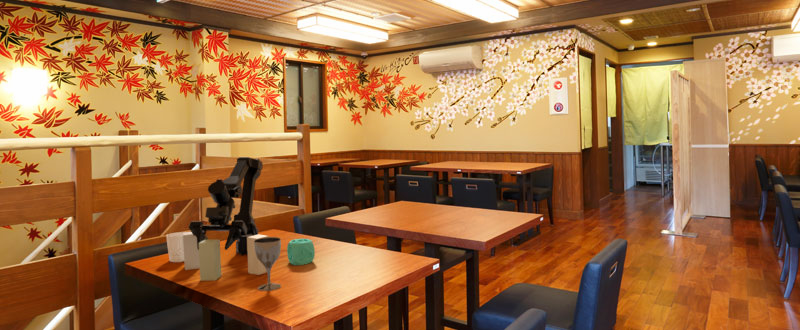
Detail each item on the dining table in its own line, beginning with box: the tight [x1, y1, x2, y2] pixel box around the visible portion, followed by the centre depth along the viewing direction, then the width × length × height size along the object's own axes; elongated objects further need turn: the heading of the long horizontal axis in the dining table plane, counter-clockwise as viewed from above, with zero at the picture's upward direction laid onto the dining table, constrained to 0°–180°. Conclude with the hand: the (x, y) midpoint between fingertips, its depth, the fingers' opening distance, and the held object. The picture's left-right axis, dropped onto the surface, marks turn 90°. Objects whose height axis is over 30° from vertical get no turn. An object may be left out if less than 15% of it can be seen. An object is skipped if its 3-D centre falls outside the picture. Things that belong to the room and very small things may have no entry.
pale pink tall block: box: [182, 231, 200, 271], centre depth 180 cm, size 5×5×12 cm
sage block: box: [199, 238, 222, 281], centre depth 166 cm, size 5×5×12 cm
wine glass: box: [254, 236, 282, 292], centre depth 155 cm, size 8×8×15 cm
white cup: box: [165, 231, 184, 263], centre depth 190 cm, size 8×8×10 cm
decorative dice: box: [286, 238, 316, 266], centre depth 184 cm, size 8×8×8 cm
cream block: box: [247, 233, 269, 276], centre depth 172 cm, size 5×5×12 cm
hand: (212, 249), depth 168 cm, fingers open, 9 cm apart
